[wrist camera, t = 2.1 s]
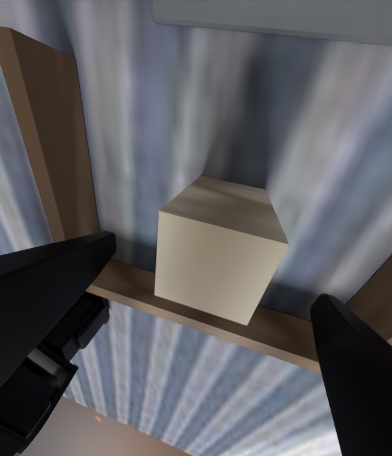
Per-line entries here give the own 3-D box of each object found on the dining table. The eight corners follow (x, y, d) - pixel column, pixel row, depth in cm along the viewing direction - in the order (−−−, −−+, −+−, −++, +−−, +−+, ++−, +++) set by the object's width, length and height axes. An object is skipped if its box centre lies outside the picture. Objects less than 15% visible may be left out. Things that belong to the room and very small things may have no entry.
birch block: (192, 229, 14) (154, 295, 8) (201, 175, 12) (159, 210, 6) (245, 243, 14) (246, 325, 8) (265, 189, 12) (288, 244, 6)
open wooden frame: (94, 262, 19) (67, 284, 16) (59, 56, 11) (-12, 25, 8) (333, 338, 16) (354, 385, 13) (549, 123, 7) (758, 113, 4)
